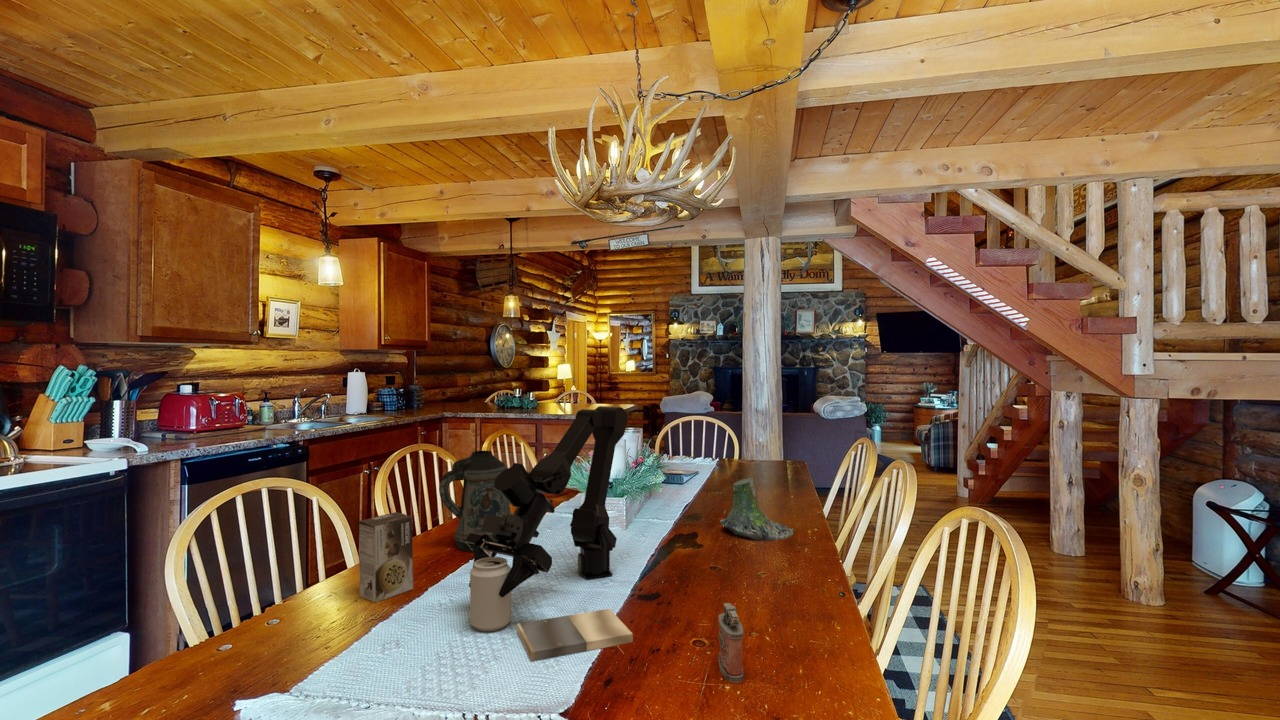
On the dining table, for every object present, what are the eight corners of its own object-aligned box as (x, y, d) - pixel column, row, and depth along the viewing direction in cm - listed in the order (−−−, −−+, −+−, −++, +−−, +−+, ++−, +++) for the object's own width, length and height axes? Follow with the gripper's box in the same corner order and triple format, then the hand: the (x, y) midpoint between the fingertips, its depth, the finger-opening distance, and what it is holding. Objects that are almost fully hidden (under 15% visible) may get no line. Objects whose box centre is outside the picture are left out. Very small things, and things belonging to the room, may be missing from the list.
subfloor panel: (609, 616, 121) (609, 608, 121) (632, 642, 110) (632, 633, 110) (517, 632, 114) (517, 623, 114) (531, 661, 103) (531, 651, 103)
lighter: (715, 658, 104) (715, 598, 104) (735, 657, 105) (735, 597, 105) (725, 682, 96) (725, 618, 96) (747, 681, 97) (747, 617, 97)
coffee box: (396, 583, 139) (396, 511, 139) (414, 589, 135) (413, 515, 135) (357, 596, 132) (357, 520, 132) (375, 603, 128) (375, 524, 128)
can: (518, 619, 120) (518, 556, 120) (497, 635, 113) (497, 569, 113) (485, 614, 122) (484, 553, 122) (462, 630, 115) (461, 565, 115)
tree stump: (800, 544, 170) (784, 480, 169) (728, 559, 172) (712, 497, 171) (789, 522, 188) (775, 465, 188) (725, 537, 190) (710, 480, 189)
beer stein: (529, 541, 172) (529, 450, 171) (476, 560, 155) (475, 459, 155) (486, 532, 180) (486, 445, 180) (431, 549, 164) (431, 454, 164)
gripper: (471, 491, 126) (426, 561, 116) (542, 502, 116) (499, 580, 106) (500, 521, 132) (460, 590, 123) (569, 534, 122) (530, 610, 113)
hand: (485, 592), depth 116 cm, fingers closed on can, 7 cm apart
